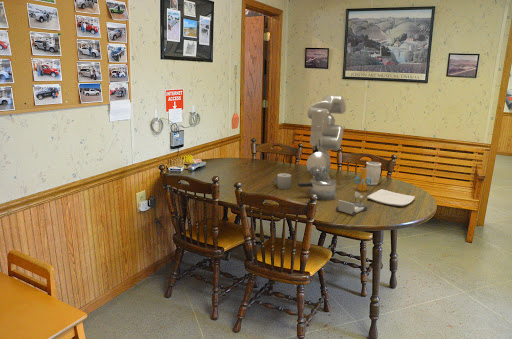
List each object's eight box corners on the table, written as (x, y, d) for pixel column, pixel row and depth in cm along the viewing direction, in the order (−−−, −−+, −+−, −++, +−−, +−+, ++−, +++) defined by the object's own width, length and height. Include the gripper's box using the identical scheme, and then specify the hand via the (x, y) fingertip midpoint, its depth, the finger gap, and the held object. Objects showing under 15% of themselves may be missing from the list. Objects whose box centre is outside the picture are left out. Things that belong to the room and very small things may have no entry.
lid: (307, 178, 264) (305, 177, 267) (330, 177, 267) (328, 177, 270) (307, 152, 262) (305, 152, 266) (330, 151, 265) (328, 151, 269)
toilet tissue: (275, 183, 284) (275, 171, 282) (292, 186, 278) (293, 174, 276) (269, 187, 276) (269, 174, 274) (287, 190, 270) (288, 177, 268)
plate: (379, 192, 273) (380, 188, 272) (417, 200, 258) (417, 196, 257) (364, 200, 255) (364, 196, 254) (402, 210, 240) (403, 205, 239)
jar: (379, 186, 285) (382, 165, 282) (364, 184, 287) (366, 164, 284) (378, 182, 295) (380, 161, 292) (363, 180, 297) (365, 160, 294)
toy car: (353, 189, 244) (370, 193, 236) (351, 204, 247) (369, 209, 239) (336, 195, 231) (354, 200, 224) (335, 211, 234) (353, 217, 226)
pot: (294, 193, 264) (295, 178, 262) (329, 191, 269) (330, 177, 267) (301, 201, 249) (302, 185, 246) (339, 199, 254) (340, 184, 251)
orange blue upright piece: (357, 192, 269) (359, 170, 265) (350, 188, 279) (352, 166, 275) (374, 191, 272) (376, 170, 268) (366, 187, 282) (368, 166, 278)
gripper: (307, 126, 273) (306, 153, 277) (315, 130, 259) (313, 158, 263) (318, 127, 274) (316, 153, 279) (326, 130, 260) (324, 158, 265)
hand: (315, 156), depth 271 cm, fingers closed
